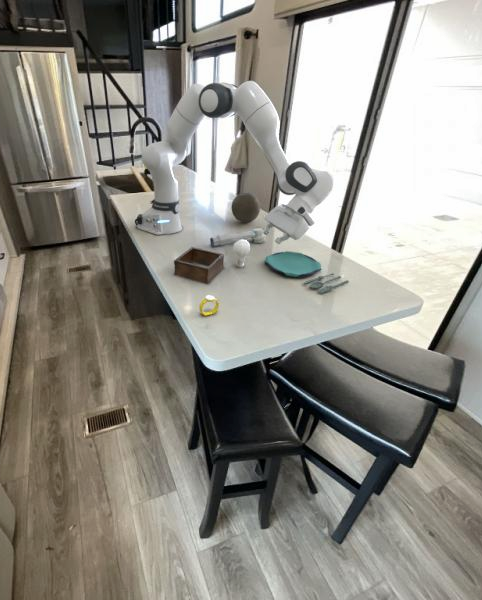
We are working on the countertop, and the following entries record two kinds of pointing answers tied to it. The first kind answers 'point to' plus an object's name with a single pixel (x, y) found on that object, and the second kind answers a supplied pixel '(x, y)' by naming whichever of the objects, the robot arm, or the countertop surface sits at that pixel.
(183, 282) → the countertop surface
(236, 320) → the countertop surface
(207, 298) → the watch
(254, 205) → the cantaloupe
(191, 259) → the brown wooden box
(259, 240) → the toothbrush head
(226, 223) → the countertop surface
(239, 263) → the lightbulb
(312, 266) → the cutlery set
